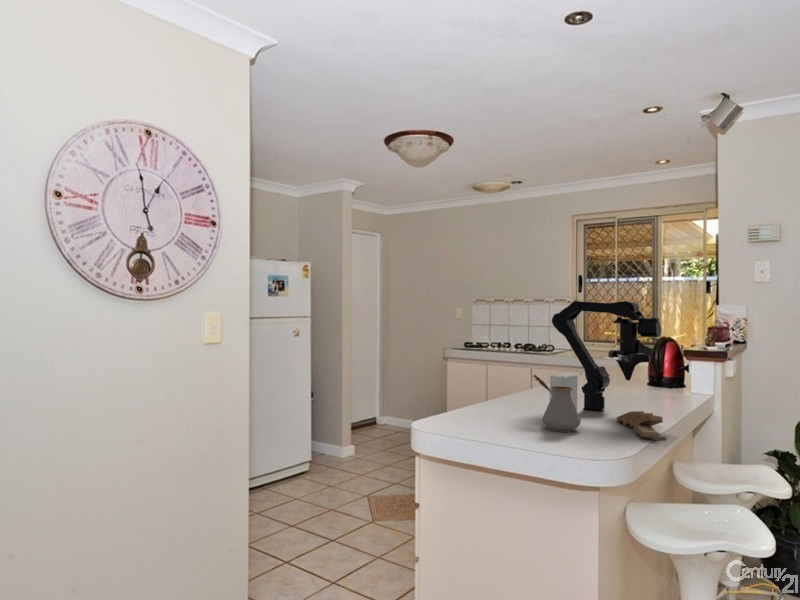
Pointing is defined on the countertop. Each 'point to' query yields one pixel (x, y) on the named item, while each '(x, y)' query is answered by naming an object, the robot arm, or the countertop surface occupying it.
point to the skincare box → (565, 384)
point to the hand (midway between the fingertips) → (628, 380)
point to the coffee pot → (560, 409)
